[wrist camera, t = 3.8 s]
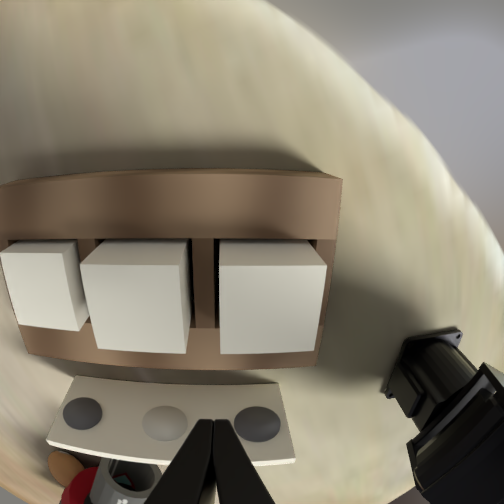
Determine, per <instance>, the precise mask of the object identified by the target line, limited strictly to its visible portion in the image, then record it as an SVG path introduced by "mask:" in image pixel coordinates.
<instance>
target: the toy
mask: <svg viewBox="0 0 504 504" xmlns="http://www.w3.org/2000/svg"><path fill="white" fill-rule="evenodd" d="M48 467H49V470H50V472H51V474H52V475H53V477H54V478H55V479H56V480H57V481H58V482H59V483H60V484H61V485H63V486H64V487H65V489H64V492H63V494H62V498H61V501H60V503H59V504H143V503H144V502H145V500H146V499H147V497H148V496H149V494H150V493H151V491H152V490H153V488H154V487H155V485H156V484H157V482H158V481H159V479H160V478H161V476H162V473H161V471H160V469H159V467H158V466H157V465H156V464H149V463H140V462H132V461H125V460H118V459H112V458H106V457H102V458H101V461H100V464H99V467H90V468H87V469H85V468H84V467H83V465H82V464H81V463H80V462H79V461H78V460H77V459H76V458H75V457H74V456H72V455H71V454H69V453H67V452H64V451H54V452H52V453H51V454H50V455H49V457H48Z"/></svg>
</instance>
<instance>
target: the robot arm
mask: <svg viewBox="0 0 504 504" xmlns="http://www.w3.org/2000/svg"><path fill="white" fill-rule="evenodd" d="M462 335H463V333H462V332H461V331H460V330H453V331H447V332H442V333H436V334H430V335H423V336H417V337H410V338H407V339H406V340H405V341H404V343H403V345H402V348H401V351H400V354H399V357H398V360H397V363H396V365H395V368H394V371H393V373H392V376H391V379H390V381H389V384H388V386H387V389H386V391H385V396H386V398H387V399H391V398H396V400H397V402H398V403H399V405H400V407H401V408H402V410H403V412H404V414H405V415H406V417H407V418H412V420H413V421H414V423H415V425H416V426H417V428H418V430H419V431H420V433H419V434H418V435H417V436H416V437H415V438H414V439H411V440H410V441H409V442H408V443H407V444H406V445H407V450H408V454H409V458H410V463H411V467H412V472H413V477H414V481H415V485H416V488H417V490H419V491H420V493H421V495H422V496H423V497H424V498H425V499H426V500H427V501H429V502H430V504H504V374H503V373H502V372H500V371H498V370H497V369H495V368H493V367H492V366H490V365H488V364H487V363H485V362H483V363H482V364H481V366H480V367H479V368H480V369H479V370H477V369H476V367H475V366H474V365H473V364H472V363H471V362H470V361H469V360H468V359H467V358H466V357H465V355H464V354H463V353H462V352H461V351H460V350H459V349H458V345H459V343H460V340H461V338H462ZM495 391H496V393H495ZM494 393H495V394H494ZM216 485H217V491H218V497H219V503H220V504H275V502H274V501H273V499H272V497H271V496H270V494H269V492H268V490H267V489H266V487H265V485H264V484H263V482H262V480H261V478H260V477H259V475H258V473H257V471H256V469H255V468H254V466H253V464H252V462H251V460H250V459H249V457H248V455H247V453H246V451H245V449H244V447H243V446H242V444H241V442H240V440H239V438H238V436H237V434H236V432H235V430H234V428H233V426H232V424H231V422H230V421H229V420H228V419H215V420H214V421H213V420H212V419H199V420H198V421H197V422H196V424H195V425H194V427H193V428H192V430H191V432H190V433H189V435H188V436H187V438H186V439H185V441H184V443H183V444H182V446H181V447H180V449H179V450H178V452H177V453H176V455H175V457H174V458H173V460H172V461H171V463H170V464H169V466H168V467H167V469H166V470H165V472H164V473H163V475H162V476H161V478H160V479H159V481H158V482H157V484H156V485H155V487H154V488H153V490H152V491H151V493H150V494H149V496H148V497H147V499H146V500H145V502H144V503H143V504H214V501H215V494H216Z"/></svg>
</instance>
